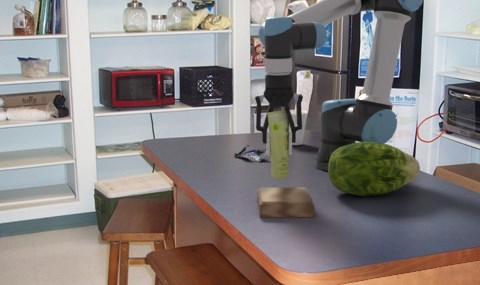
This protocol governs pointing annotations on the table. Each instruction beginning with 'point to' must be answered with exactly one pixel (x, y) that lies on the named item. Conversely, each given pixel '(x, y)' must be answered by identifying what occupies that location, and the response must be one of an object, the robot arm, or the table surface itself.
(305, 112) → the cup
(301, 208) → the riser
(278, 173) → the tube
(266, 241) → the table surface
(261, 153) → the snack package
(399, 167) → the lettuce
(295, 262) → the table surface
